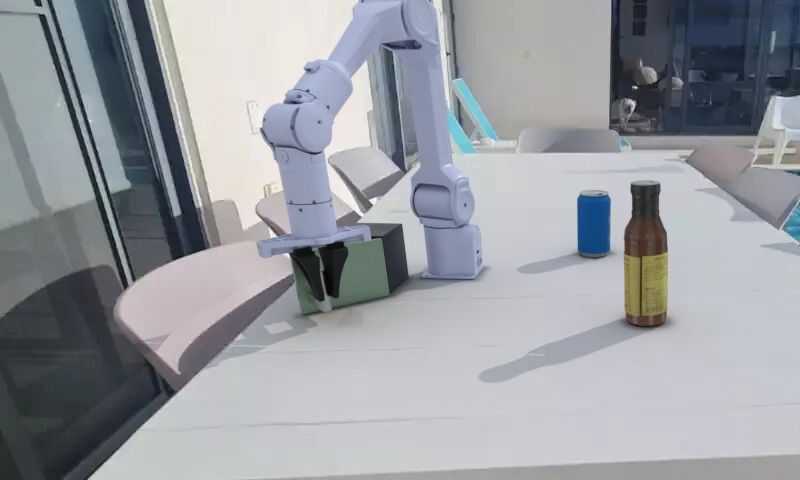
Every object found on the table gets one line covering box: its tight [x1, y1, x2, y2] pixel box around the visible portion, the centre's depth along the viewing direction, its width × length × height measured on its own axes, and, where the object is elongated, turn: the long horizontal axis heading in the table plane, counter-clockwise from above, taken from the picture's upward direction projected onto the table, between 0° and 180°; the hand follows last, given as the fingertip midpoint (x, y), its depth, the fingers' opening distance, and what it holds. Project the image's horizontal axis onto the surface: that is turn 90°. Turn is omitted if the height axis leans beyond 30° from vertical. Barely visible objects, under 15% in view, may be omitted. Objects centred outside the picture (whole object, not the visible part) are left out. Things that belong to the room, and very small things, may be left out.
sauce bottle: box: [623, 179, 669, 327], centre depth 89 cm, size 6×6×20 cm
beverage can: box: [576, 189, 612, 258], centre depth 124 cm, size 6×6×12 cm
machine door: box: [289, 238, 391, 316], centre depth 95 cm, size 6×14×9 cm, turn 131°
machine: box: [336, 221, 410, 295], centre depth 106 cm, size 9×14×10 cm, turn 86°
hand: (326, 298), depth 90 cm, fingers closed on machine door
